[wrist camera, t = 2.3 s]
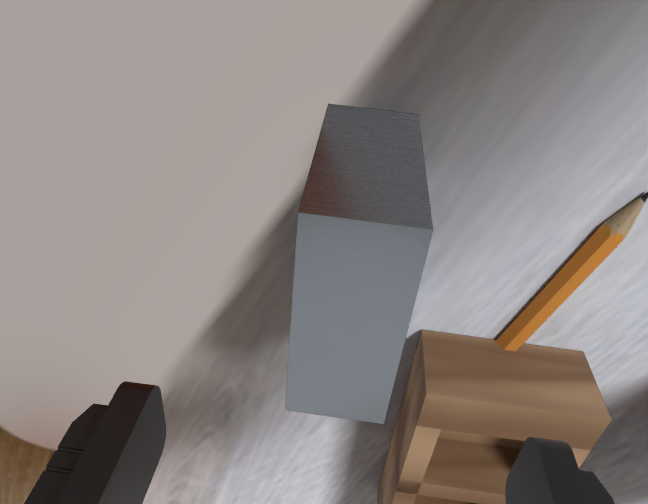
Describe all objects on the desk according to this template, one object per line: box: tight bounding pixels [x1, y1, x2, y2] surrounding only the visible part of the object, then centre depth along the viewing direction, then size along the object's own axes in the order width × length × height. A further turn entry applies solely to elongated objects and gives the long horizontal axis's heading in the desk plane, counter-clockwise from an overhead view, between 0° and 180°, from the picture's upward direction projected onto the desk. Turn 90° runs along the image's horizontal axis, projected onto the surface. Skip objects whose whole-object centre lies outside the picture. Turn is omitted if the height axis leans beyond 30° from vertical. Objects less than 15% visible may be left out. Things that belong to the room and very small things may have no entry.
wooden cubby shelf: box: [378, 330, 612, 504], centre depth 25 cm, size 13×7×4 cm, turn 175°
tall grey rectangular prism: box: [285, 104, 433, 424], centre depth 16 cm, size 7×3×7 cm, turn 175°
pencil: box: [496, 192, 648, 351], centre depth 23 cm, size 1×1×19 cm
